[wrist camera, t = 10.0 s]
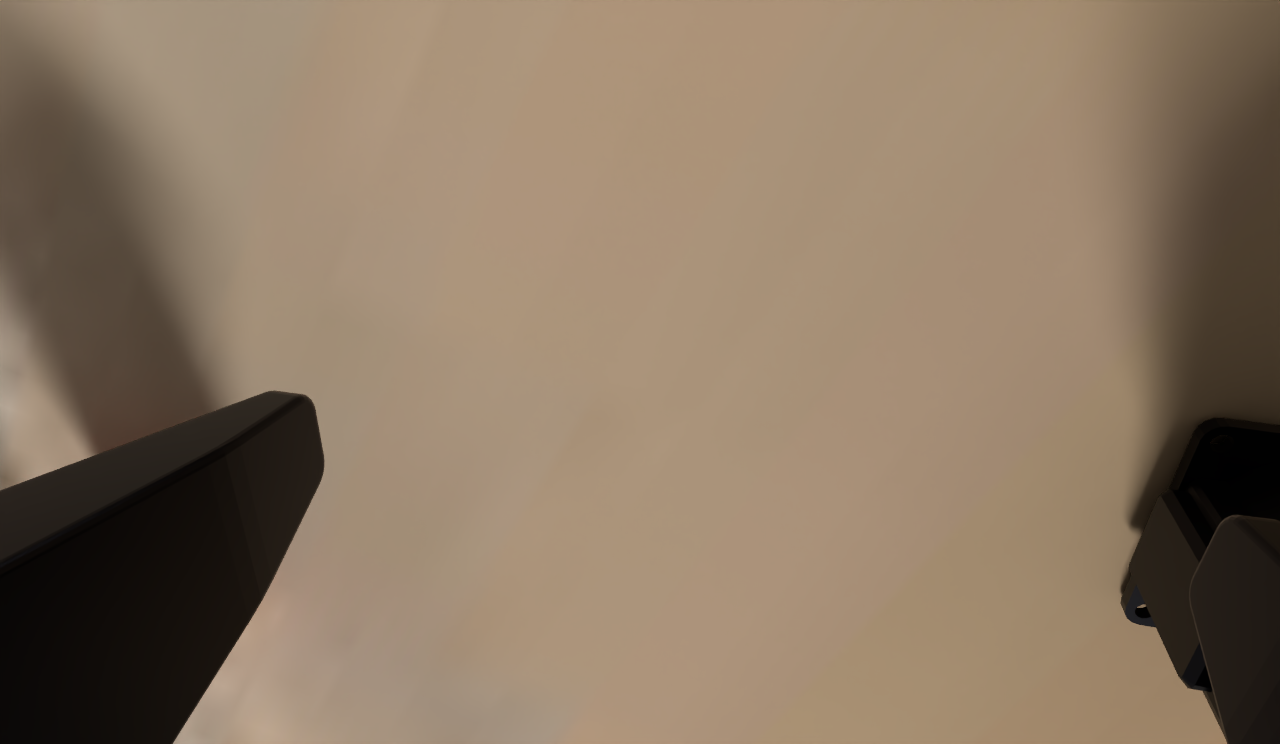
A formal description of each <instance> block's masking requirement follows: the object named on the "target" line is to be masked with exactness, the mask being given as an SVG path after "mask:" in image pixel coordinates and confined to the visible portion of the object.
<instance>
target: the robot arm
mask: <svg viewBox="0 0 1280 744" xmlns="http://www.w3.org/2000/svg"><path fill="white" fill-rule="evenodd" d="M1220 435H1227V437H1226V438H1225V440H1224V441H1222V442H1220V443H1218V444H1210V442H1211V441H1212V440H1213V439H1214V438H1215V437H1218V436H1220ZM323 471H324V454H323V449H322V443H321V437H320V432H319V426H318V421H317V415H316V410H315V406H314V404H313V402H312V400H311V399H310V398H309V397H307V396H306V395H303V394H296V393H288V392H281V391H268V392H265V393H262V394H259V395H257V396H254V397H251V398H249V399H246V400H243V401H240V402H238V403H235V404H232V405H230V406H227V407H224V408H222V409H219V410H216V411H213V412H211V413H208V414H205V415H203V416H200V417H197V418H195V419H192V420H189V421H186V422H184V423H181V424H178V425H176V426H173V427H170V428H168V429H165V430H162V431H160V432H157V433H154V434H151V435H149V436H146V437H143V438H141V439H138V440H135V441H133V442H130V443H127V444H124V445H122V446H119V447H116V448H114V449H111V450H108V451H106V452H103V453H100V454H97V455H95V456H92V457H89V458H87V459H84V460H81V461H79V462H76V463H73V464H70V465H68V466H65V467H62V468H60V469H57V470H54V471H52V472H49V473H46V474H43V475H41V476H38V477H35V478H33V479H30V480H27V481H25V482H22V483H19V484H17V485H14V486H11V487H8V488H6V489H3V490H0V744H173V742H174V741H175V739H176V738H177V736H178V734H179V733H180V731H181V730H182V728H183V726H184V725H185V723H186V722H187V720H188V718H189V717H190V715H191V714H192V712H193V711H194V709H195V707H196V706H197V704H198V703H199V701H200V699H201V698H202V696H203V695H204V693H205V691H206V690H207V688H208V687H209V685H210V684H211V682H212V680H213V679H214V677H215V676H216V674H217V672H218V671H219V669H220V668H221V666H222V664H223V663H224V661H225V660H226V658H227V656H228V655H229V653H230V652H231V650H232V649H233V647H234V645H235V644H236V642H237V641H238V639H239V637H240V636H241V634H242V633H243V631H244V629H245V628H246V626H247V625H248V623H249V621H250V620H251V618H252V616H253V615H254V613H255V611H256V610H257V608H258V606H259V605H260V603H261V601H262V600H263V598H264V596H265V594H266V592H267V590H268V588H269V586H270V584H271V583H272V581H273V579H274V577H275V575H276V572H277V570H278V568H279V566H280V564H281V562H282V560H283V558H284V556H285V554H286V552H287V550H288V548H289V546H290V544H291V542H292V540H293V538H294V536H295V533H296V531H297V529H298V527H299V525H300V523H301V521H302V519H303V517H304V515H305V513H306V511H307V509H308V507H309V505H310V503H311V501H312V499H313V496H314V494H315V492H316V490H317V488H318V486H319V484H320V482H321V479H322V476H323ZM1129 570H1130V572H1131V574H1132V575H1131V577H1130V579H1129V582H1128V584H1127V586H1126V588H1125V591H1124V593H1123V595H1122V598H1121V605H1122V608H1123V610H1124V612H1125V615H1126V617H1127V619H1129V620H1130V621H1131V622H1133V623H1136V624H1139V625H1145V626H1151V627H1156V628H1157V631H1158V633H1159V635H1160V637H1161V639H1162V641H1163V644H1164V646H1165V648H1166V650H1167V652H1168V654H1169V657H1170V659H1171V661H1172V663H1173V665H1174V667H1175V670H1176V672H1177V674H1178V676H1179V678H1180V679H1181V680H1182V681H1183V683H1184V684H1185V685H1186V686H1187V688H1190V689H1195V690H1201V691H1203V693H1204V695H1205V697H1206V699H1207V701H1208V703H1209V705H1210V707H1211V709H1212V711H1213V713H1214V716H1215V718H1216V720H1217V722H1218V724H1219V726H1220V728H1221V730H1222V732H1223V734H1224V736H1225V738H1226V741H1227V744H1280V425H1272V424H1265V423H1257V422H1250V421H1242V420H1235V419H1227V418H1213V419H1210V420H1207V421H1205V422H1203V423H1202V424H1200V425H1199V426H1198V427H1197V428H1196V430H1195V431H1194V433H1193V435H1192V437H1191V439H1190V442H1189V444H1188V446H1187V449H1186V451H1185V453H1184V455H1183V458H1182V460H1181V462H1180V465H1179V467H1178V469H1177V472H1176V474H1175V476H1174V478H1173V481H1172V483H1171V485H1170V488H1169V489H1168V490H1166V491H1165V492H1164V493H1162V494H1161V495H1160V496H1159V497H1158V499H1157V501H1156V504H1155V506H1154V508H1153V511H1152V513H1151V515H1150V518H1149V520H1148V522H1147V525H1146V527H1145V529H1144V532H1143V534H1142V536H1141V539H1140V541H1139V543H1138V545H1137V548H1136V550H1135V552H1134V555H1133V557H1132V559H1131V562H1130V564H1129ZM1142 604H1146V607H1144V608H1137V607H1138V606H1140V605H1142Z"/></svg>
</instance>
